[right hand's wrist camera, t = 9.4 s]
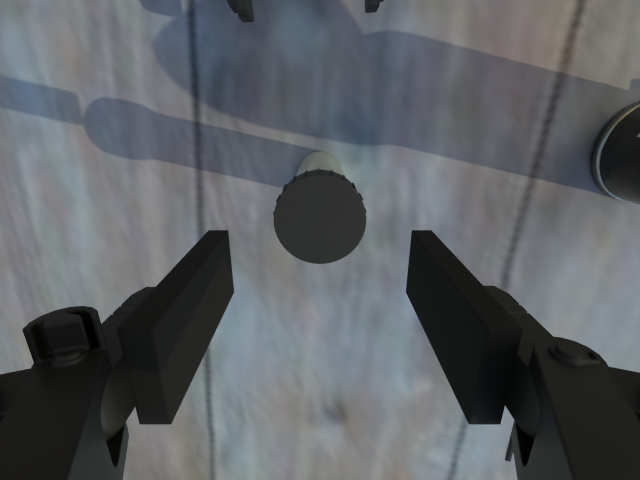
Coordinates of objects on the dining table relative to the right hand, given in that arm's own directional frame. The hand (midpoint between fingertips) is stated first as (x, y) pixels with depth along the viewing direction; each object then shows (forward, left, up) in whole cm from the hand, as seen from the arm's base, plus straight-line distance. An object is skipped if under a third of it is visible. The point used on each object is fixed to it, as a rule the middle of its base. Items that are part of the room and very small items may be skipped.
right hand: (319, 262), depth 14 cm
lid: (0, 0, -6) cm, 6 cm away
